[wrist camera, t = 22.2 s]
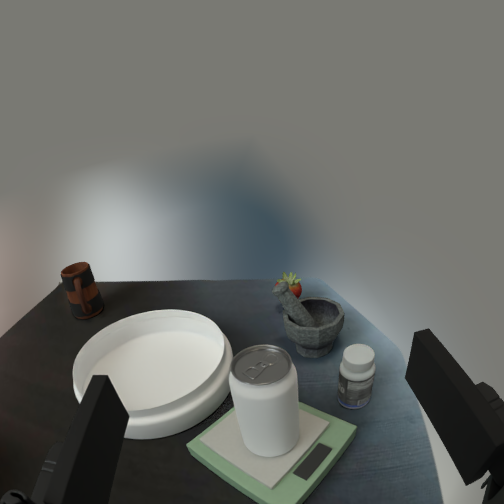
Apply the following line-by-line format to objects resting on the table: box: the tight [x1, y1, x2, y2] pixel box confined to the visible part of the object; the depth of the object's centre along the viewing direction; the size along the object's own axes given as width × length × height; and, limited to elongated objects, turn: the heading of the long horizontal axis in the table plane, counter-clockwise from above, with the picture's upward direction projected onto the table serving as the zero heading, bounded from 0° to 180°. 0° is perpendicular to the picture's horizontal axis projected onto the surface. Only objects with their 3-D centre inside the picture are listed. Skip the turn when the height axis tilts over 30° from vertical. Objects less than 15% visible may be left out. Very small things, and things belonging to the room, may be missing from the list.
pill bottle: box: [338, 344, 375, 409], centre depth 38 cm, size 5×5×8 cm
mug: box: [61, 262, 104, 319], centre depth 68 cm, size 9×12×12 cm
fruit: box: [275, 272, 302, 301], centre depth 62 cm, size 5×5×8 cm
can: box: [229, 345, 299, 457], centre depth 30 cm, size 6×6×12 cm
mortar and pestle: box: [272, 281, 344, 358], centre depth 50 cm, size 11×9×12 cm
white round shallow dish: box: [73, 310, 233, 439], centre depth 47 cm, size 27×27×6 cm
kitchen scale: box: [187, 401, 357, 504], centre depth 33 cm, size 15×14×3 cm
